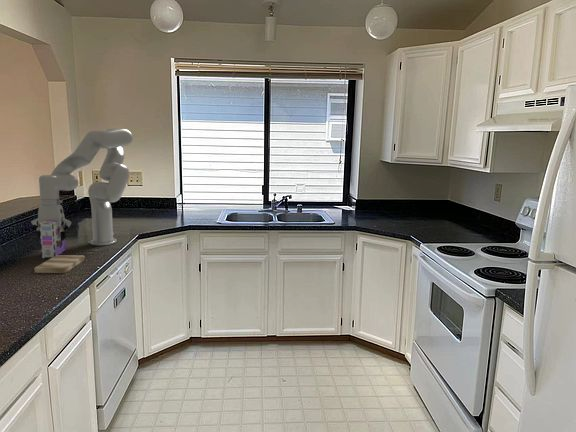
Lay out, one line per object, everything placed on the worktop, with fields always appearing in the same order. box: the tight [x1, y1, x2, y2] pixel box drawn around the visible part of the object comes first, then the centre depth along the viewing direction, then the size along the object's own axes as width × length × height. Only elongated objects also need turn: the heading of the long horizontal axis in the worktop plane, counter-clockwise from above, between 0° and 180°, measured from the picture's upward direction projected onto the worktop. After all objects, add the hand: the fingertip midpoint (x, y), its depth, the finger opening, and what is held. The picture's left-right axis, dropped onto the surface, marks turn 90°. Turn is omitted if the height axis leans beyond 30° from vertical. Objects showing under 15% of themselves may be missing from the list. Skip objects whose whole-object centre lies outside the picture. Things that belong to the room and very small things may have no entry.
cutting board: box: [34, 254, 85, 274], centre depth 174 cm, size 18×12×2 cm, turn 3°
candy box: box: [39, 221, 67, 259], centre depth 189 cm, size 14×6×16 cm, turn 9°
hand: (52, 239), depth 189 cm, fingers open, 9 cm apart
